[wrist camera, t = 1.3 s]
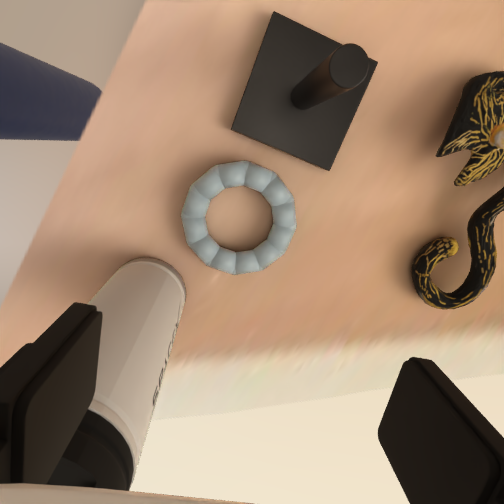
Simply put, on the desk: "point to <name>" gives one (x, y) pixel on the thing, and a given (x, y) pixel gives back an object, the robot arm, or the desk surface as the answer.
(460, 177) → the toy snake
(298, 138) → the stand
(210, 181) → the ring
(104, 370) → the travel mug
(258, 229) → the desk surface
